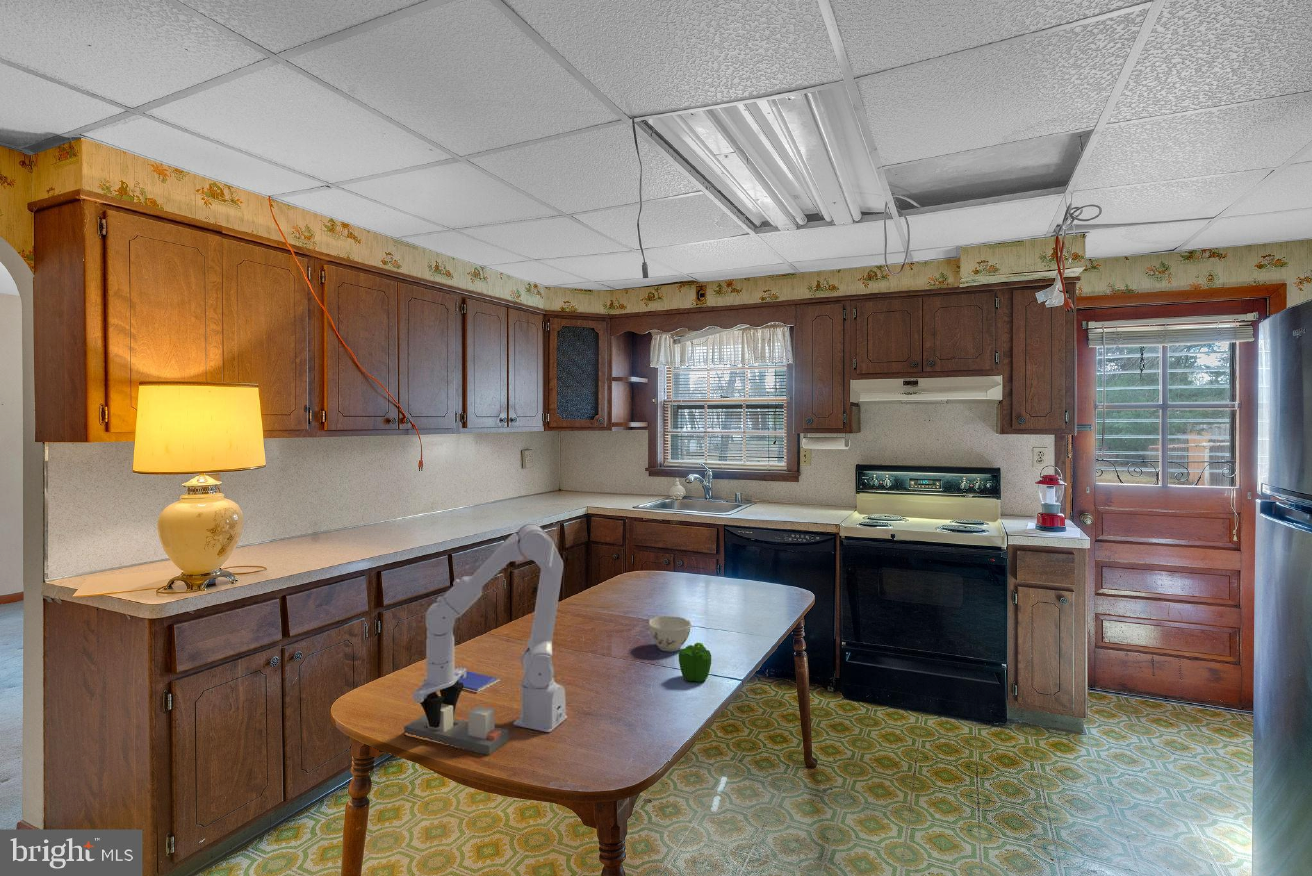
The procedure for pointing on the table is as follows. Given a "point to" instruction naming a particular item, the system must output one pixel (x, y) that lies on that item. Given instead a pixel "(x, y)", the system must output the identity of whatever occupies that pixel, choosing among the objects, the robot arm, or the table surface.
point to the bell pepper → (695, 662)
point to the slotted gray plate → (465, 731)
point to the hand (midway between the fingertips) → (441, 721)
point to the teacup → (669, 632)
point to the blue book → (477, 681)
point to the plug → (445, 718)
